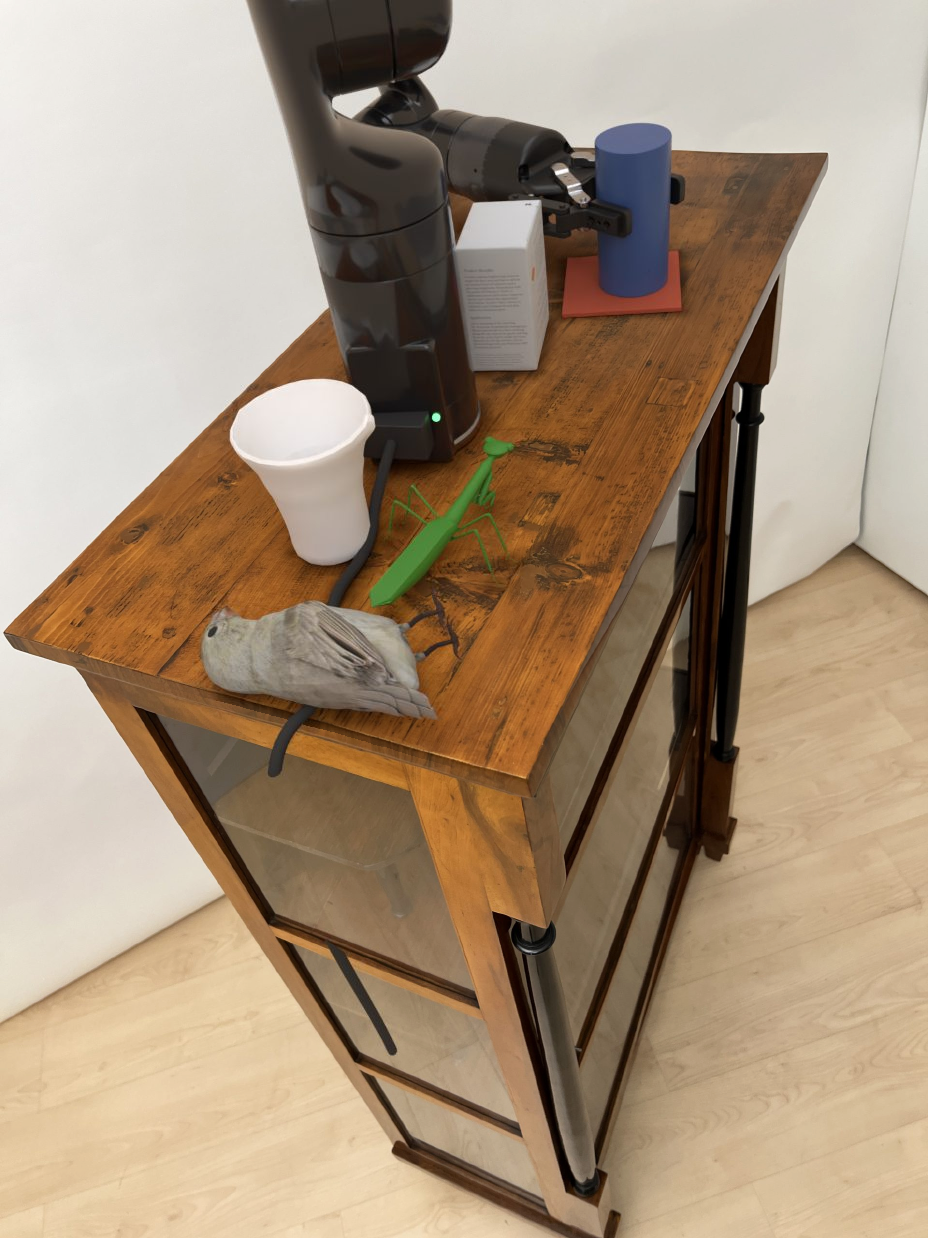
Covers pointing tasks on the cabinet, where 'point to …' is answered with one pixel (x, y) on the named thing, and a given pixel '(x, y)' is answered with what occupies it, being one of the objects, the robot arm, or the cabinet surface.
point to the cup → (311, 462)
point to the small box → (504, 284)
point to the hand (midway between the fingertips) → (656, 206)
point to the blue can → (635, 207)
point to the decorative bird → (322, 657)
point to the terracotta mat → (593, 301)
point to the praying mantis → (439, 531)
